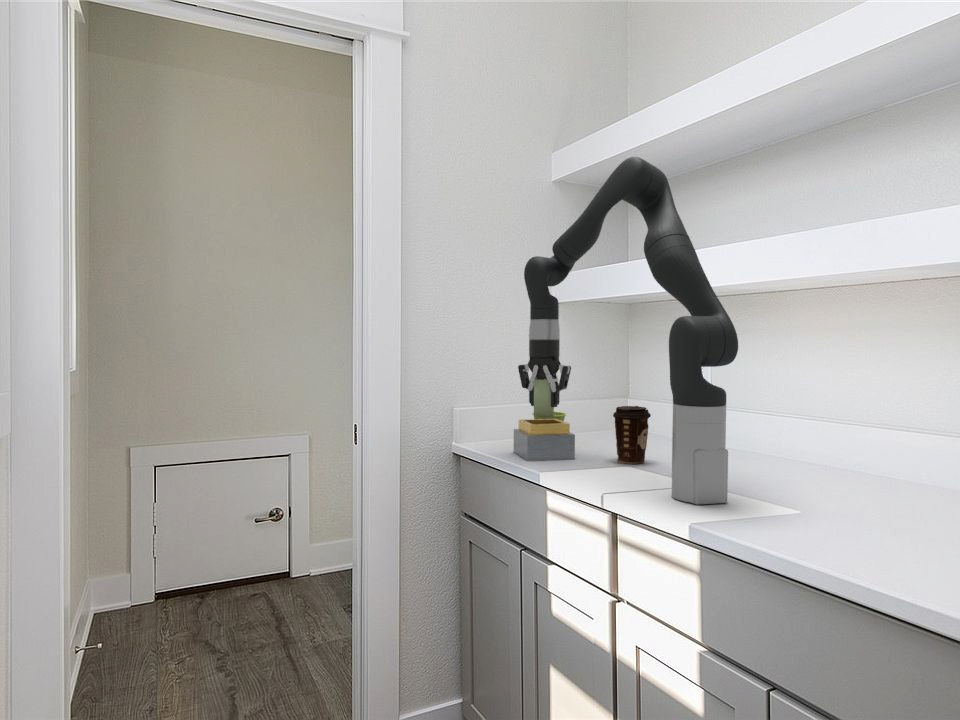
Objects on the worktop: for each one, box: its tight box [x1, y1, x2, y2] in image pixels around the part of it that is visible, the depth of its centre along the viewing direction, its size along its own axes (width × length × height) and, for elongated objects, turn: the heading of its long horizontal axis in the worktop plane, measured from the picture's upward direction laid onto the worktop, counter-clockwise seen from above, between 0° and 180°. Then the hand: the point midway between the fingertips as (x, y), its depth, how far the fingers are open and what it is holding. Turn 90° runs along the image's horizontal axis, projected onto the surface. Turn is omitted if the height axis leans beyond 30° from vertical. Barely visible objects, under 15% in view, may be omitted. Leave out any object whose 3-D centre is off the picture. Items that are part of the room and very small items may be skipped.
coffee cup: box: [612, 405, 652, 465], centre depth 152 cm, size 9×8×13 cm
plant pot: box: [531, 411, 567, 422], centre depth 176 cm, size 9×9×9 cm
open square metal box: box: [513, 418, 576, 462], centre depth 159 cm, size 12×12×8 cm
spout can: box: [533, 378, 555, 417], centre depth 159 cm, size 5×5×10 cm
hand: (544, 406), depth 159 cm, fingers closed on spout can, 5 cm apart
